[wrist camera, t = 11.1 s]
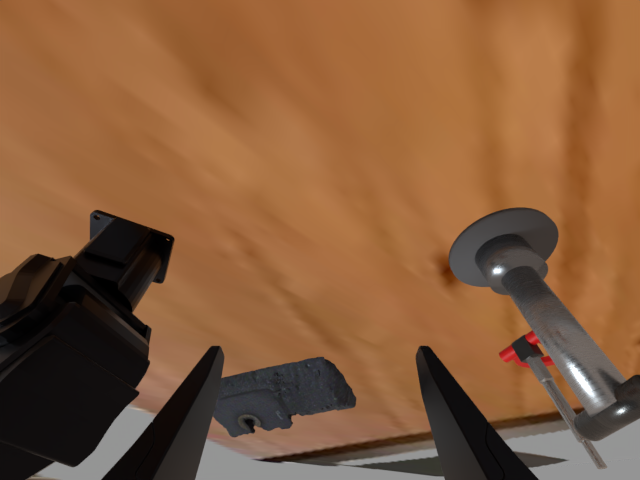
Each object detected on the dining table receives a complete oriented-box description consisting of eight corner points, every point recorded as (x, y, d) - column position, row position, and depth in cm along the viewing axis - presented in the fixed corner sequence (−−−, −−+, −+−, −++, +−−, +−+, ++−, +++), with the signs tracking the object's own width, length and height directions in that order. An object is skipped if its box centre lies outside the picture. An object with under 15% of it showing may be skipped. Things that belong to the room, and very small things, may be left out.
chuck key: (464, 277, 28) (553, 444, 17) (486, 230, 24) (617, 403, 13) (509, 278, 28) (626, 445, 17) (538, 231, 24) (709, 404, 14)
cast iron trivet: (365, 395, 46) (369, 428, 43) (249, 417, 52) (244, 448, 48) (329, 348, 38) (330, 385, 34) (194, 380, 43) (182, 414, 39)
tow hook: (597, 331, 35) (542, 318, 33) (711, 460, 25) (645, 454, 23) (541, 363, 40) (490, 354, 38) (619, 481, 30) (557, 478, 28)
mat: (495, 292, 30) (498, 297, 30) (428, 264, 28) (430, 269, 27) (576, 231, 25) (581, 236, 25) (504, 190, 23) (508, 194, 22)
